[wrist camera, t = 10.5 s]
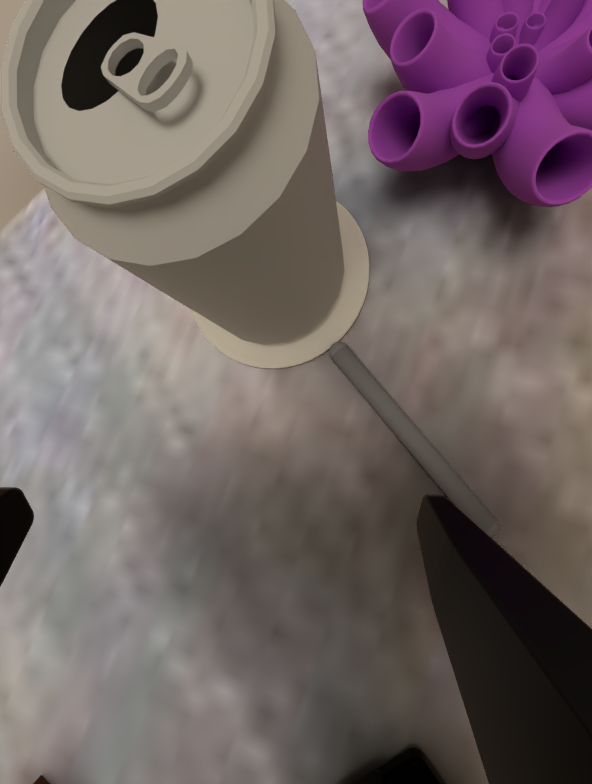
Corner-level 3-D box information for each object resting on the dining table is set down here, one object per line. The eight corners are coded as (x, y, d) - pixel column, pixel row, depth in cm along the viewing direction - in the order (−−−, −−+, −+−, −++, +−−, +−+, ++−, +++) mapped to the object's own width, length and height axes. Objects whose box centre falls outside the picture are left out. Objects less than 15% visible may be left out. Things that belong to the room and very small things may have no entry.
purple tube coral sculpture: (616, 102, 19) (915, 16, 11) (382, 262, 21) (481, 295, 13) (587, -205, 14) (1119, -834, 6) (279, 45, 16) (331, -142, 8)
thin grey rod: (499, 524, 16) (507, 531, 15) (481, 537, 16) (488, 544, 15) (341, 340, 18) (339, 335, 17) (326, 352, 18) (324, 348, 17)
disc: (410, 281, 17) (411, 278, 17) (261, 407, 19) (258, 406, 18) (289, 152, 19) (287, 147, 19) (159, 274, 20) (155, 271, 20)
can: (268, 184, 19) (108, -194, 7) (376, 262, 17) (398, -51, 6) (183, 292, 19) (-92, 107, 8) (281, 377, 18) (125, 306, 6)
